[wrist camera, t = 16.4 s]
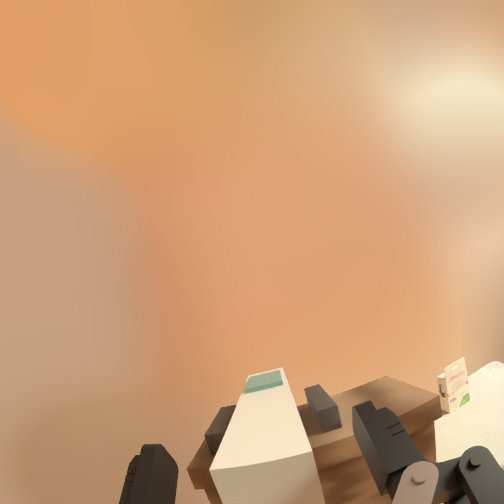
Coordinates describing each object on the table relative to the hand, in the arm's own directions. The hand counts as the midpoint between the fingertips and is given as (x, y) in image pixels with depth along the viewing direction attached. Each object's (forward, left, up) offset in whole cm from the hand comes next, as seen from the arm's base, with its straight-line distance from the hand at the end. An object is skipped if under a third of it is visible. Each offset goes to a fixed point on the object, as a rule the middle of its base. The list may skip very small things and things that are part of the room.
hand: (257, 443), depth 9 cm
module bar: (0, -10, -4) cm, 11 cm away
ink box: (-48, -57, -37) cm, 83 cm away
